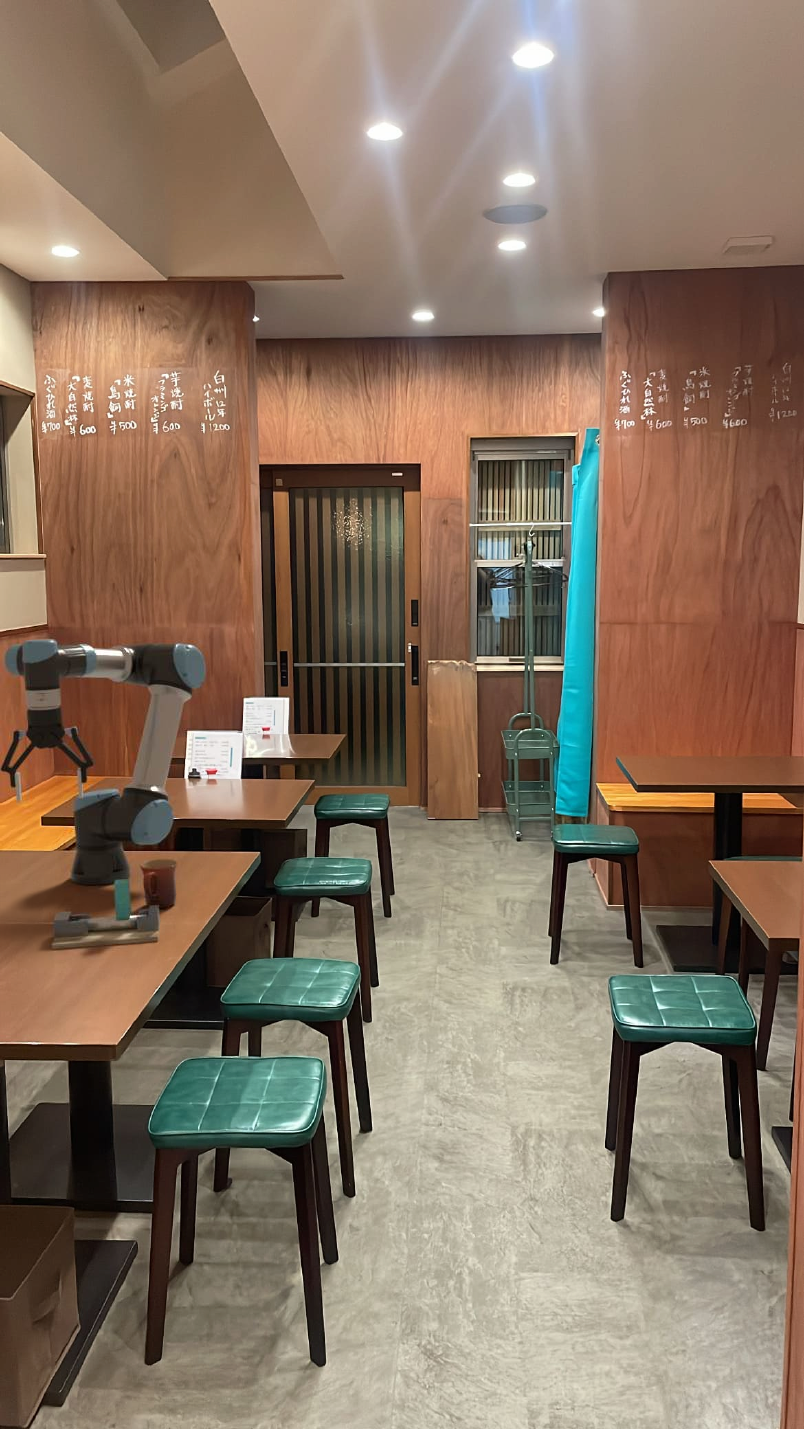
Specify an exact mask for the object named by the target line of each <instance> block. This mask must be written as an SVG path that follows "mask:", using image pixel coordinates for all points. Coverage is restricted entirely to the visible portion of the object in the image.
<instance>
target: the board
mask: <svg viewBox="0 0 804 1429" xmlns="http://www.w3.org/2000/svg"><path fill="white" fill-rule="evenodd" d="M159 921H160V923H159V930H158V931H150V932H137V928H129V929H116V930H102V931H89V932H88V934H89V935H88V936H79V937H66V938H55V937H54V939H53V941H52V944H51V948H52V950H59V949H73V948H83V947H85V948H86V947H97V946H111V945H123V944H126V945H127V944H139V943H151V942H153V943H154V942H159V936H160V927H161V916H159Z"/></svg>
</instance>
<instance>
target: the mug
mask: <svg viewBox="0 0 804 1429" xmlns="http://www.w3.org/2000/svg"><path fill="white" fill-rule="evenodd" d="M178 863H179V862H178V861H177V860H175V859H169V858H159V859H158V858H157V859H151V860H146V861H143V862H141V864H140V870H141V872H142V875H143V881H142V882H143V892H144V896H143V897H144V900H145V905H146V906H147V907H149V906H151V905H159V910H160V909H166V908H169V907H172V906H173V905H175V903H176V900H177V888H176V887H177V886H176V885H177V883H176V871H177V868H178Z"/></svg>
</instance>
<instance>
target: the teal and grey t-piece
mask: <svg viewBox="0 0 804 1429" xmlns="http://www.w3.org/2000/svg"><path fill="white" fill-rule="evenodd" d="M113 885H114V886H113V887H114V889H113V890H114V904H115V905H114V906H115V907H114V908H115V916H108V917H107V916H106V917H105V916H104V917H93V918H92V917H90V919H79V921H84V920H88V932H89V931H102V930H116V929H129V928H137V917H140V916H148V914H146V915H138V914H133V915H132V911H131V910H132V907H131V890H130V887H131V886H130V879H129V878H126V879H122V880H115V882H114V883H113Z"/></svg>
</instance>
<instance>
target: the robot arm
mask: <svg viewBox="0 0 804 1429" xmlns="http://www.w3.org/2000/svg"><path fill="white" fill-rule="evenodd" d="M4 666H5V669H6V670H7V671H8V672H9V673H10V674H11V675H15V676H20V677H24V686H25V687H24V688H25V690H24V691H25V692H24V693H25V706H26V707H27V708H28V709H27V711H26V719H27V720H26V721H27V729H26V730H21V729H19V728H17V729H15V730H14V731H13V735H12V736H13V737H12V742H11V744H10V747H9V749H8V751H7V754H6V755H5V758H4V760H3V762H2V765H1V767H0V771H1V772H5V773H7V774H8V775H9V781H10V787H11V788H15V795H16V803H21V802H22V800H23V798H22V797H23V796H22V783H21V782H22V781H21V771H17V770H18V769H19V767H21V765H22V764H23V762H24V761H25V760H26V759H27V758H28V756H29V755H30V754H31V752H32V751H33V750H34V749H35V747H36V748H37V749H39V750H41V749H55V748H56V747H57V748H58V749H60V750H61V751H62V752H63V753H64V754H65V755H67V757H68V758H69V759H70V760H71V761H72V762H73V763H74V765H76V766H77V767H78V768H77V771H76V774H77V786H78V787H77V788H78V795H77V796H75V798H74V801H73V820H74V822H73V823H74V835H75V848H76V851H75V856H74V859H73V863H72V866H71V870H70V880H71V882H72V883H74V884H76V885H83V886H100V885H107V884H114V882H115V880H122V879H129V878H130V877H131V865H130V863H129V860H128V858H127V856H126V854H125V850H124V848H123V843H129V844H130V843H131V844H137V845H139V846H140V845H141V846H146V845H151V846H152V845H156V844H159V843H161V842H162V841H163V840H164V839H166V837H167V836H168V834H169V833H170V831H171V830H172V829H171V828H172V826H173V824H174V819H175V818H174V815H175V814H174V812H173V811H174V808H173V806H172V803H170V802H169V795H168V793H167V791H166V789H165V788H166V783H167V779H168V775H169V770H170V766H171V764H172V763H171V762H172V758H173V757H172V756H173V753H174V749H175V744H176V740H177V736H178V731H179V727H180V724H181V723H180V722H181V718H182V713H183V708H184V704H185V703H186V702H188V701H189V700H191V698H192V696H193V692H194V690H195V689H199V688H200V687H201V686H202V685H204V682H205V680H206V675H207V666H206V661H205V659H204V656H203V654H202V652H201V651H200V649H198V647H196V646H195V645H192V644H185V643H142V644H133V645H114V646H111V647H110V648H97V647H96V648H95V647H94V648H93V647H92V646H91V645H89V644H86V643H74V644H58V642H57V640H56V639H54V638H53V639H52V638H42V639H41V638H39V639H28V640H25V641H24V642H23V643H21V644H13V645H11V646H9V647H8V648H7V649H6V652H5V654H4ZM68 678H100V679H101V678H102V679H106V678H107V679H109V680H111V681H112V682H116V683H126V684H132V685H138V686H144V687H147V690H148V692H149V693H150V695H151V699H150V703H149V707H148V712H147V714H146V720H145V723H144V726H143V727H144V728H143V733H142V736H141V740H140V744H139V749H138V753H137V758H136V762H135V765H134V769H133V770H134V771H133V773H132V774H133V775H132V778H131V782H130V783H128V784H127V785H125V786H124V787H123V790H122V794H121V793H120V791H119V789H117V788H107V789H106V788H105V789H99V790H93V791H89V792H84V786H83V784H86V783H87V781H88V772H87V770H88V768H91V767H93V766H94V765H95V760H94V758H93V757H92V755H91V754H90V751H89V750H88V749H87V747H86V745H85V744H84V742H83V741H82V738H81V737H80V735H79V731H78V728H77V726H72V727H68V728H67V727H66V728H64V724H63V714H62V713H63V710H62V707H60V706H61V705H62V701H61V700H62V696H61V686H60V685H61V682H60V680H61V679H68ZM66 734H67V735H68V737H69V738H72V740H73V743H74V744H75V745H76V747H77V749H78V750H79V752H80V754H81V755H82V757H83V758H84V760H83V759H82V758H81V757H79V756H80V755H79V756H78V754H77V753H76V752H74V750H73V749H72V748H71V747H70V746H69V745H68V744H67V743H66V742H65V741H64V740H63V737H64V736H65V735H66ZM24 737H26V738H27V739H28V740H29V741H30V744H28V746H27V748H25V750H24V751H23V752H22V754H21V755H20V756H19V757H18V759H17V760H16V761H15V762H14V764H13V765H12V766H10V764H11V761H12V759H13V757H14V754H15V753H16V750H17V748H18V746H19V743H20V741H22V740H23V739H24Z"/></svg>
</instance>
